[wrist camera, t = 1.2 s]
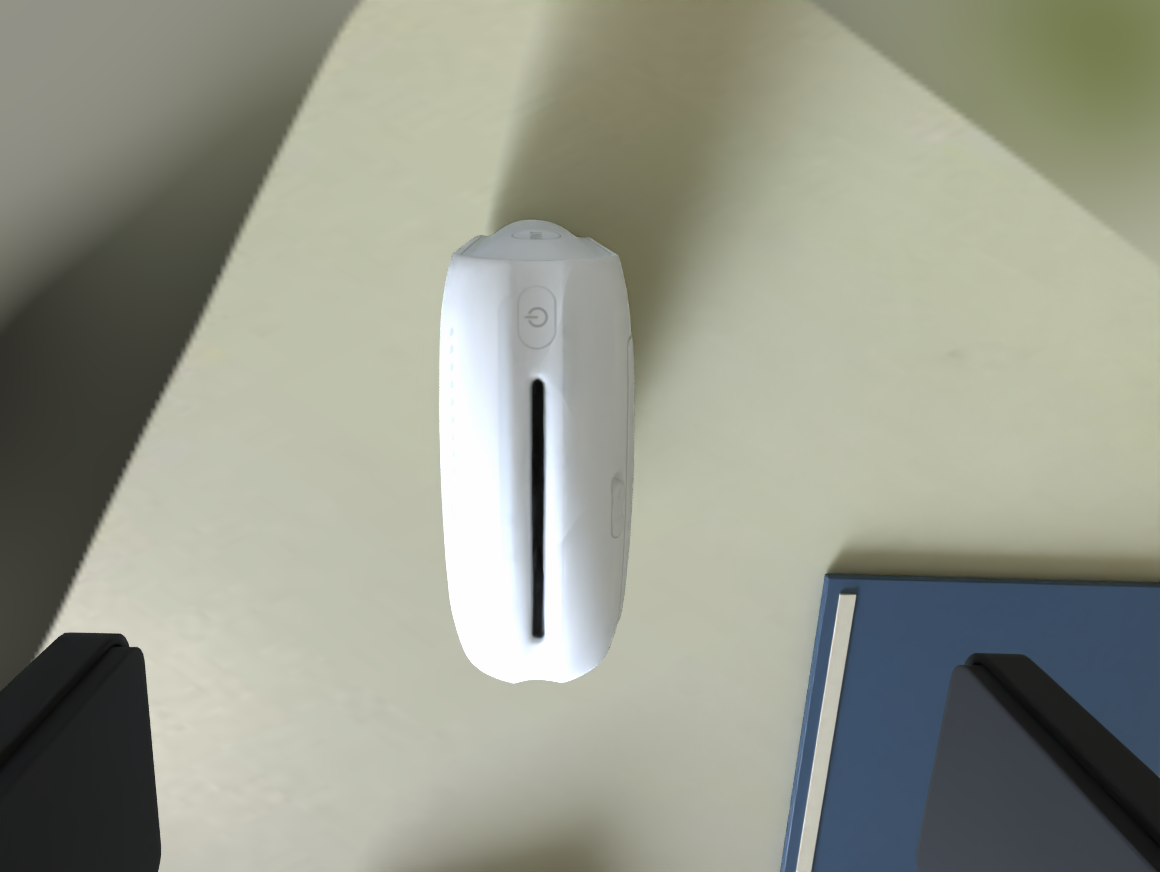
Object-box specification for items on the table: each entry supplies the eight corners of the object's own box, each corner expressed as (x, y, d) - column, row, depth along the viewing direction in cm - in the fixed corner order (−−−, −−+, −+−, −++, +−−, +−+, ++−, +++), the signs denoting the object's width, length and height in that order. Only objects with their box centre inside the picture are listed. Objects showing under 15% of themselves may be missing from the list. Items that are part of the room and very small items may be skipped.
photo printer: (464, 214, 27) (416, 236, 15) (600, 216, 27) (657, 238, 15) (471, 517, 30) (436, 736, 18) (594, 516, 30) (638, 731, 18)
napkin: (824, 573, 31) (829, 579, 31) (1233, 584, 32) (1244, 590, 32) (766, 959, 36) (769, 969, 36) (1122, 956, 37) (1130, 966, 37)
